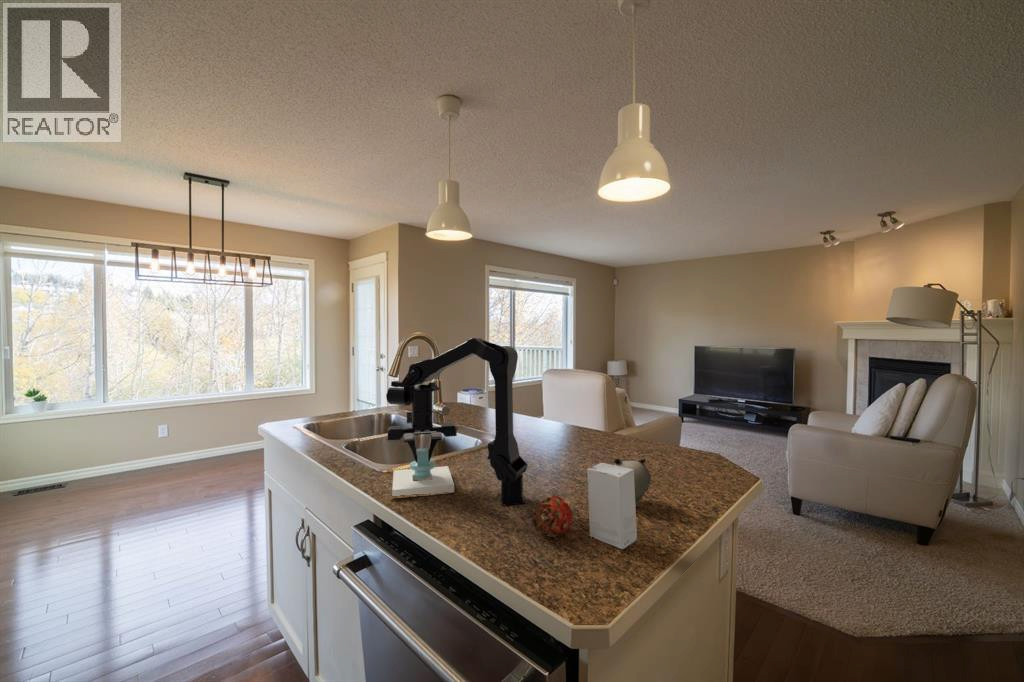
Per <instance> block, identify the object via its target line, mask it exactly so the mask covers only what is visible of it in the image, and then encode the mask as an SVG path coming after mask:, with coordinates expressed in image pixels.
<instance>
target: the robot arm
mask: <svg viewBox="0 0 1024 682" xmlns="http://www.w3.org/2000/svg"><path fill="white" fill-rule="evenodd" d="M474 355H475V356H477V357H478V358H480V359H482V360H483V361H486V362H487V363H488V366H489V370H490V373H491V375H492V378H493V381H494V407H495V408H494V410H495V411H494V413H495V415H494V416H495V421H494V422H495V423H494V424H495V434H494V435H495V437H494V439H493V440H492V441H490V442H489V443H487V451H488V453H487V455H488V456H487V460H489V464H490V467H491V468H492V469H493V470H494V472H495V475H496V479H497V481H500V493H497V495H496V496H497V498H498V497H499V498H498V499H500V500H499V502H500V501H501V502H500V503H501V505H502V504H511V505H515V504H514V503H520V504H524V503H523V502H527V503H528V500H527V498H526V497H525V496H524V475H523V474H524V473H526V472H527V470H528V467H529V466H528V465H529V464H528V463H527V462H526V461H525V459H523V458H522V456H521V455H520V451H519V446H518V445H519V443H518V442H517V439H516V437H515V435H514V410H513V408H514V407H513V404H514V403H513V402H514V400H513V396H514V395H513V392H514V391H513V379H514V377H515V373H516V371H517V367H518V359H519V358H518V357H519V356H518V355H519V354H518V352H517V350H516V349H515V348H514V347H512V346H509V345H500V344H496V343H493V342H490V341H487V340H485V339H482V338H481V337H471V338H469V339H467V341H465V342H463V343H461V344H459V345H457V346H455V347H453V348H451V349H449V350H447V351H445V352H443V353H441V354H439V355H437V356H435V357H431V358H430V359H429V358H428V359H425V360H420V361H417V362H413V363H411V364H410V365H409V366H408V372H407V373H406V374H405V376H404V378H403V380H402V381H400V380H392V381H390V382H391V383H390V384H391V385H390V386H389V387H388V389H387V392H386V394H385V398H386V400H387V401H386V402H388V404H389V405H397V406H410V405H411V411H409V412H408V411H407V412H406V424H408V425H409V424H411V428H409V427H408V428H403V426H404V425H390V426H389V427H388V428H387V440H388V441H398V440H401V439H402V438H403V443H407V444H408V446H409V448H410V450H411V452H412V455H413V458H414V461H416V462H417V445H416V438H415V436H416V435H417V436H420V435H429V441H428V461H430V460H431V458H432V455H433V452H434V450H435V447H436V445H437V444H438V441H441V440H442V435H443V436H445V437H446V438H447V437H457V434H458V433H457V432H458V431H457V429H458V428H457V426H456V424H455V423H454V422H441V423H440V426H433V425H434V421H433V420H434V419H433V414H434V412H433V409H434V408H433V407H434V406H433V405H434V403H433V401H434V400H433V392H437V391H440V390H441V389H440V387H439V386H438V385H437V384H435V381H433V380H434V379H436V378H437V377H439V376H440V375H441V374H442V373H443V371H444V370H446V369H448V368H449V367H452V366H454V365H456V364H458V363H460V362H462V361H465V360H466V359H468V358H471V357H473V356H474ZM427 382H429V383H428V384H424V383H427ZM415 386H416V387H415Z"/></svg>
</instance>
